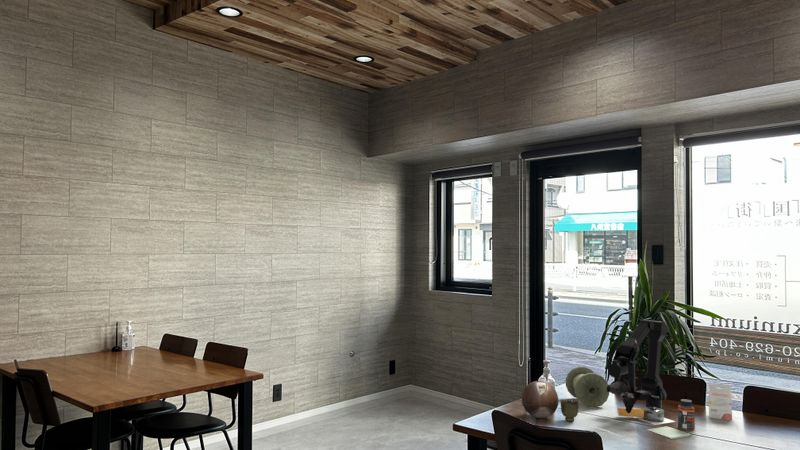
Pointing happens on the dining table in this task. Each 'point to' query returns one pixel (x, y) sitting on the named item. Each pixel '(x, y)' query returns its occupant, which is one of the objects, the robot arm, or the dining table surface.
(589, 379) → the spool
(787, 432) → the dining table surface
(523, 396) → the wooden sphere
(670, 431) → the green pad
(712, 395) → the ink cartridge box
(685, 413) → the supplement bottle
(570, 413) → the cup
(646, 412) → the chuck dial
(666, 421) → the dial plate
